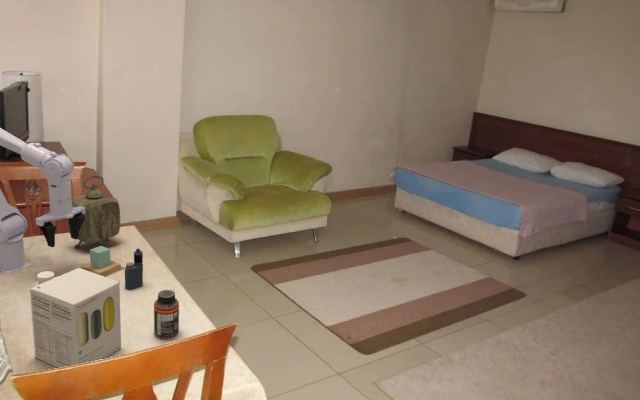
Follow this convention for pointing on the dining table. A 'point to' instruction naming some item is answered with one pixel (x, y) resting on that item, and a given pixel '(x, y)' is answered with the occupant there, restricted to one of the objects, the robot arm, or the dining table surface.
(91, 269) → the top slab
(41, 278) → the pill bottle
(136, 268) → the vaping device
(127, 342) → the dining table surface
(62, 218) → the robot arm
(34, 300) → the supplement box
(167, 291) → the supplement bottle
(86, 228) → the tabletop clock
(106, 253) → the block
